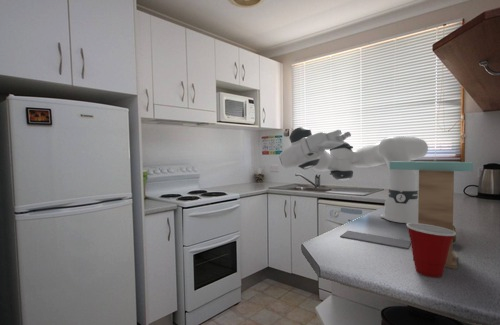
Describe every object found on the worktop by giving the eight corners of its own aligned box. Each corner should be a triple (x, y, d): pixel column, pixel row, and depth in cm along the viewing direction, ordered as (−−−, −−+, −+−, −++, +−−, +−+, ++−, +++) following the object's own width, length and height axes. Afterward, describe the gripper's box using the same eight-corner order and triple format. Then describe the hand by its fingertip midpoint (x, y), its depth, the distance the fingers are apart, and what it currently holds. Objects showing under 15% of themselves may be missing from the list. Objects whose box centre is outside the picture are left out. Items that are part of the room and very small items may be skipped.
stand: (417, 249, 87) (418, 169, 87) (456, 256, 81) (458, 169, 81) (413, 260, 78) (414, 170, 78) (456, 269, 72) (458, 171, 72)
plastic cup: (467, 281, 65) (468, 232, 65) (424, 283, 65) (425, 233, 64) (433, 263, 76) (434, 221, 76) (396, 264, 75) (397, 221, 75)
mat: (347, 231, 108) (347, 230, 108) (411, 242, 95) (411, 240, 95) (340, 237, 101) (340, 235, 101) (408, 249, 88) (408, 248, 88)
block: (392, 168, 88) (392, 161, 88) (471, 170, 76) (471, 162, 76) (389, 169, 85) (389, 161, 85) (472, 171, 73) (472, 162, 73)
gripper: (327, 154, 117) (357, 141, 108) (303, 154, 101) (337, 138, 93) (322, 141, 118) (352, 127, 110) (298, 138, 102) (331, 122, 94)
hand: (345, 132), depth 101 cm, fingers open, 8 cm apart
